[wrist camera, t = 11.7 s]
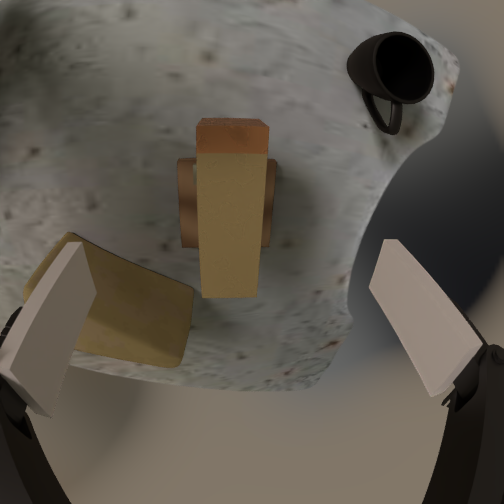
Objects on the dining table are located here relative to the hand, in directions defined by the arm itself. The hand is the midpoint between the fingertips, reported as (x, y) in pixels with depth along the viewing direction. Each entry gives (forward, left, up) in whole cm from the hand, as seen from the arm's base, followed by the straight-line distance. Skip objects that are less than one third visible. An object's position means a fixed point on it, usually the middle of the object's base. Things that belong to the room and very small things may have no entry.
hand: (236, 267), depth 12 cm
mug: (-10, +17, -26) cm, 33 cm away
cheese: (+19, -15, -26) cm, 36 cm away
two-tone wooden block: (+3, 0, -19) cm, 20 cm away
